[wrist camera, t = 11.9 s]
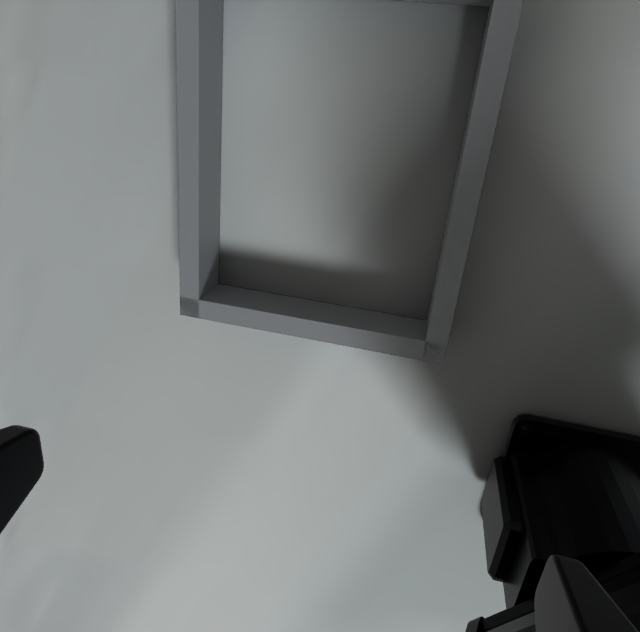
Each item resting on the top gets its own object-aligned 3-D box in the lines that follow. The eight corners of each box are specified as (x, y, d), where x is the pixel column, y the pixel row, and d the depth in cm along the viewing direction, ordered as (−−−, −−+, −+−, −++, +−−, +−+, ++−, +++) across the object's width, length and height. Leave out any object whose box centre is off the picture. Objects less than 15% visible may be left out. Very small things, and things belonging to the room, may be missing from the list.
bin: (521, -22, 16) (532, -38, 14) (442, 341, 21) (443, 364, 19) (202, -41, 17) (174, -59, 16) (201, 297, 22) (180, 314, 21)
